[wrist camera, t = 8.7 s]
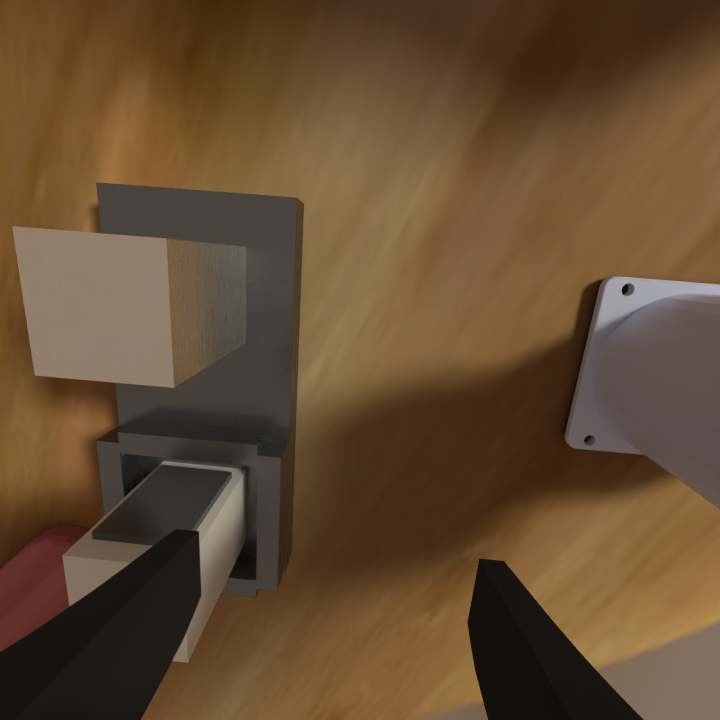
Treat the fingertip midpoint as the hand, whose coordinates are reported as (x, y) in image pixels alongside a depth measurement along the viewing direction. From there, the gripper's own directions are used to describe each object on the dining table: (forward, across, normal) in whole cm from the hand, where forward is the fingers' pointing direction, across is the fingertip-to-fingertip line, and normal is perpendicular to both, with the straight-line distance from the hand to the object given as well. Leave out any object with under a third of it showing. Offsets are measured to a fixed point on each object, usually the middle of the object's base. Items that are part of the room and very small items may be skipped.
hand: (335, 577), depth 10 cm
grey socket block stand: (+9, +7, -2) cm, 12 cm away
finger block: (+8, +7, +4) cm, 11 cm away
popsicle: (+10, +19, +14) cm, 25 cm away
